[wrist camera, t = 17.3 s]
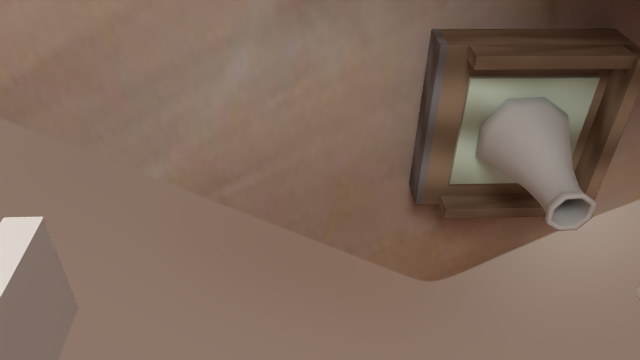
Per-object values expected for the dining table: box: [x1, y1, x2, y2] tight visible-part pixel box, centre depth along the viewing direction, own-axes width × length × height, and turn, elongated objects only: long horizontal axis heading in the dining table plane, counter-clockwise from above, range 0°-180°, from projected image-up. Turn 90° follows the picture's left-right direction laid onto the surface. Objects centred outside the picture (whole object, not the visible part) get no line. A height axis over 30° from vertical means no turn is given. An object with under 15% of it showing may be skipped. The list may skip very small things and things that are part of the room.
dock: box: [409, 29, 640, 218], centre depth 45 cm, size 15×15×6 cm
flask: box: [476, 97, 597, 231], centre depth 40 cm, size 7×7×10 cm
